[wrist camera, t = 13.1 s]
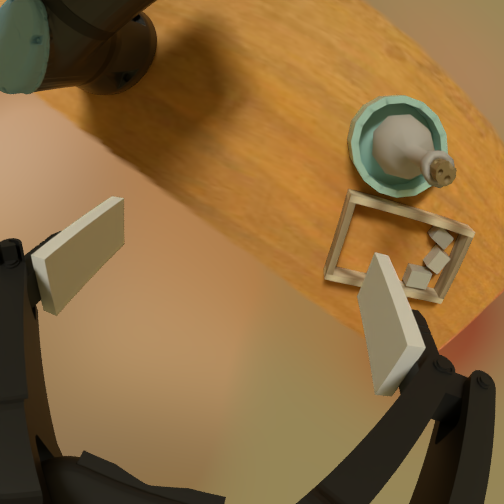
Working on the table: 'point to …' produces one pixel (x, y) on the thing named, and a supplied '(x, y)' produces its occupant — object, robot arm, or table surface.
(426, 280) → the grey block
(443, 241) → the pebble
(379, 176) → the bowl
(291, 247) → the table surface
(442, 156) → the potion bottle
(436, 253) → the pebble
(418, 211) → the tray
